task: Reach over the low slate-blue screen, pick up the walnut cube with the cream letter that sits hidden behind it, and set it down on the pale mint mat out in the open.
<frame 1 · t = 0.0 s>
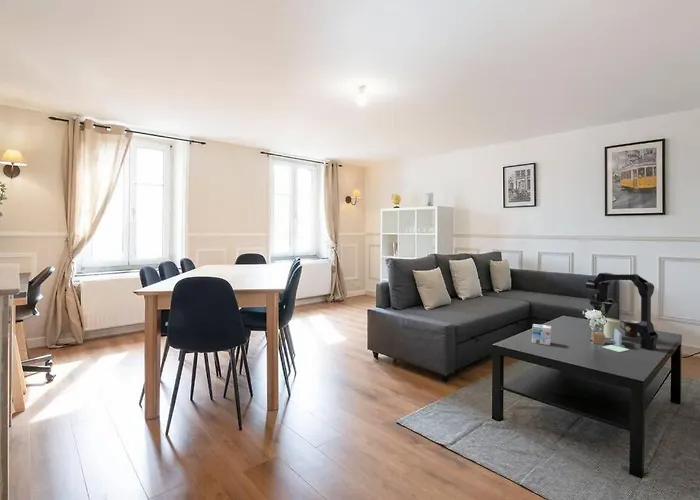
hand: (601, 314, 256), 15 cm above the table, tool pointing down, fingers open, 9 cm apart
can: (611, 337, 255), on the table
mat: (615, 348, 231), on the table
light bulb box: (541, 343, 242), on the table
letter cube: (598, 342, 243), on the table
screen: (617, 344, 240), on the table
coffee mug: (629, 335, 259), on the table
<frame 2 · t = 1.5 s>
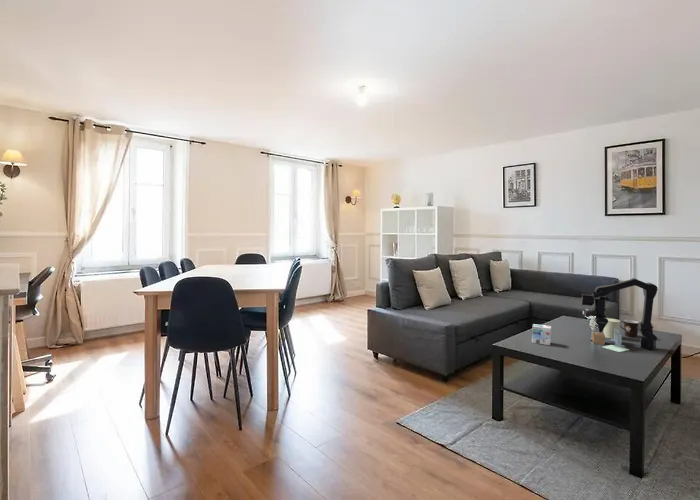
hand: (598, 330, 242), 8 cm above the table, tool pointing down, fingers open, 9 cm apart
nothing on the table moved.
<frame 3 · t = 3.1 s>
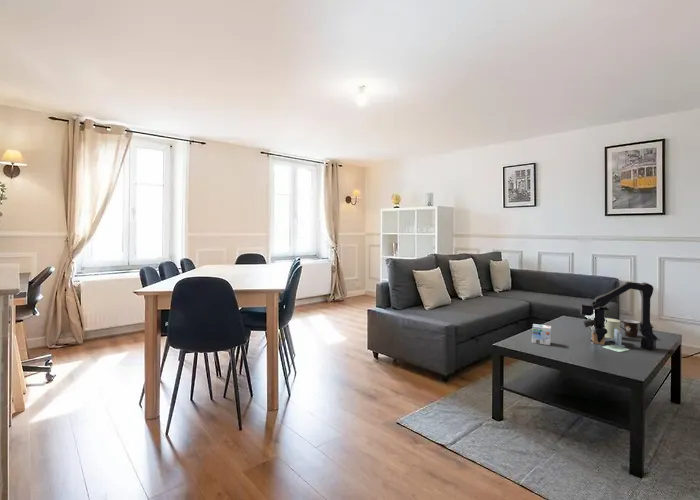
hand: (598, 340, 243), 1 cm above the table, tool pointing down, fingers closed on letter cube, 6 cm apart
letter cube: (598, 342, 243), on the table, touching gripper
everything else where it was.
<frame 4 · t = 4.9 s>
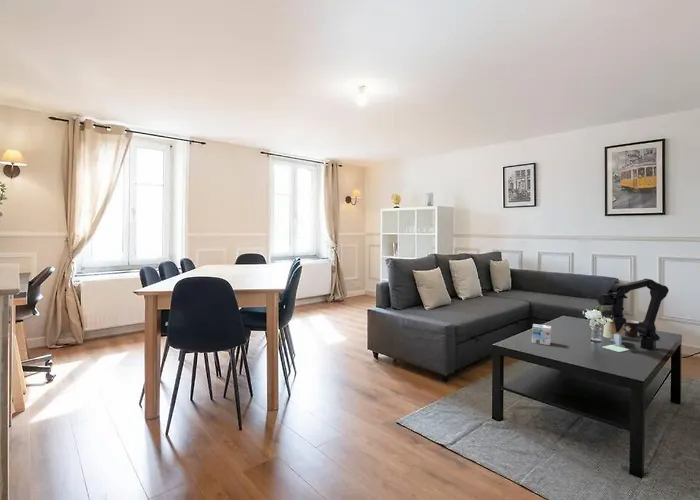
hand: (616, 330, 230), 11 cm above the table, tool pointing down, fingers closed on letter cube, 6 cm apart
letter cube: (616, 332, 231), point 10 cm above the table, touching gripper
everything else where it was.
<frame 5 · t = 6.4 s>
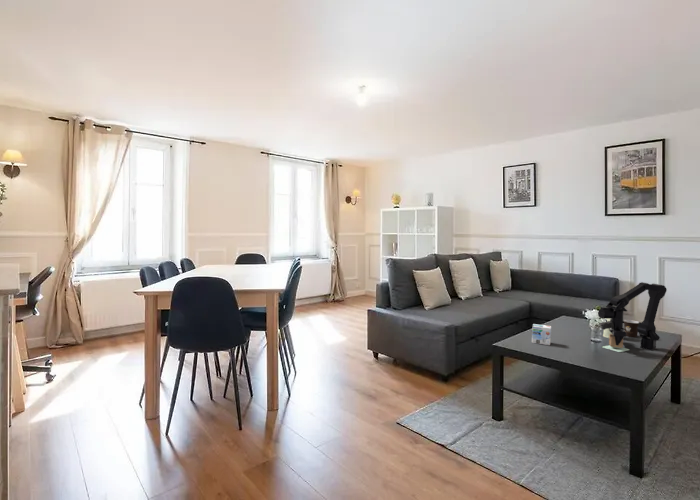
hand: (615, 343, 231), 3 cm above the table, tool pointing down, fingers closed on letter cube, 6 cm apart
letter cube: (615, 345, 231), point 2 cm above the table, touching gripper
everything else where it was.
when the fingers open (3 cm above the table, at t = 7.0 s): letter cube drops 1 cm, resting on mat.
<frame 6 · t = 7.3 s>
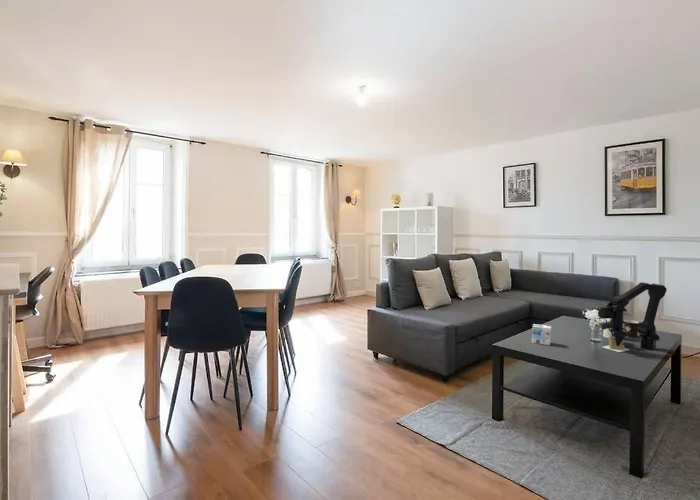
hand: (615, 343, 231), 3 cm above the table, tool pointing down, fingers open, 9 cm apart
letter cube: (615, 348, 231), resting on mat
everything else where it was.
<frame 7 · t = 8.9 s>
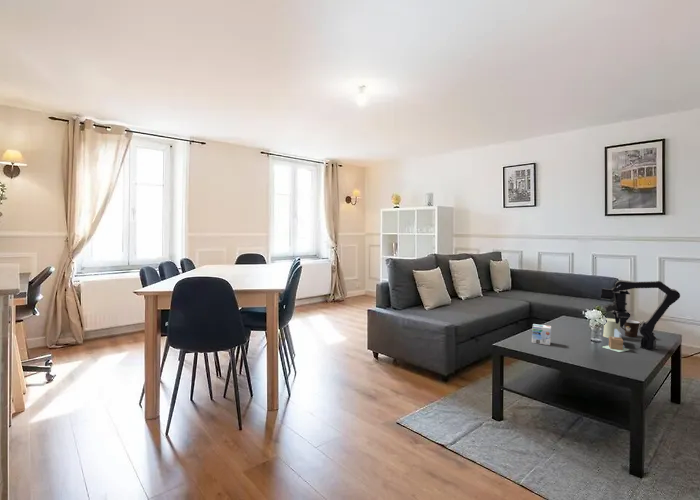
hand: (619, 325, 239), 12 cm above the table, tool pointing down, fingers open, 9 cm apart
nothing on the table moved.
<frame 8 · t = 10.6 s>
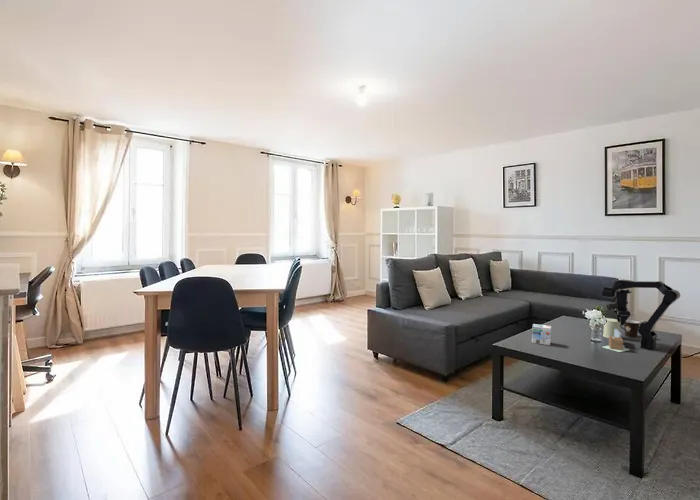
hand: (620, 323, 243), 12 cm above the table, tool pointing down, fingers open, 9 cm apart
nothing on the table moved.
at the end: letter cube inside the target area on the mat (0.1 cm from its centre), point 0.4 cm above the mat's base; letter cube tilted 0°; the gripper is holding nothing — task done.
